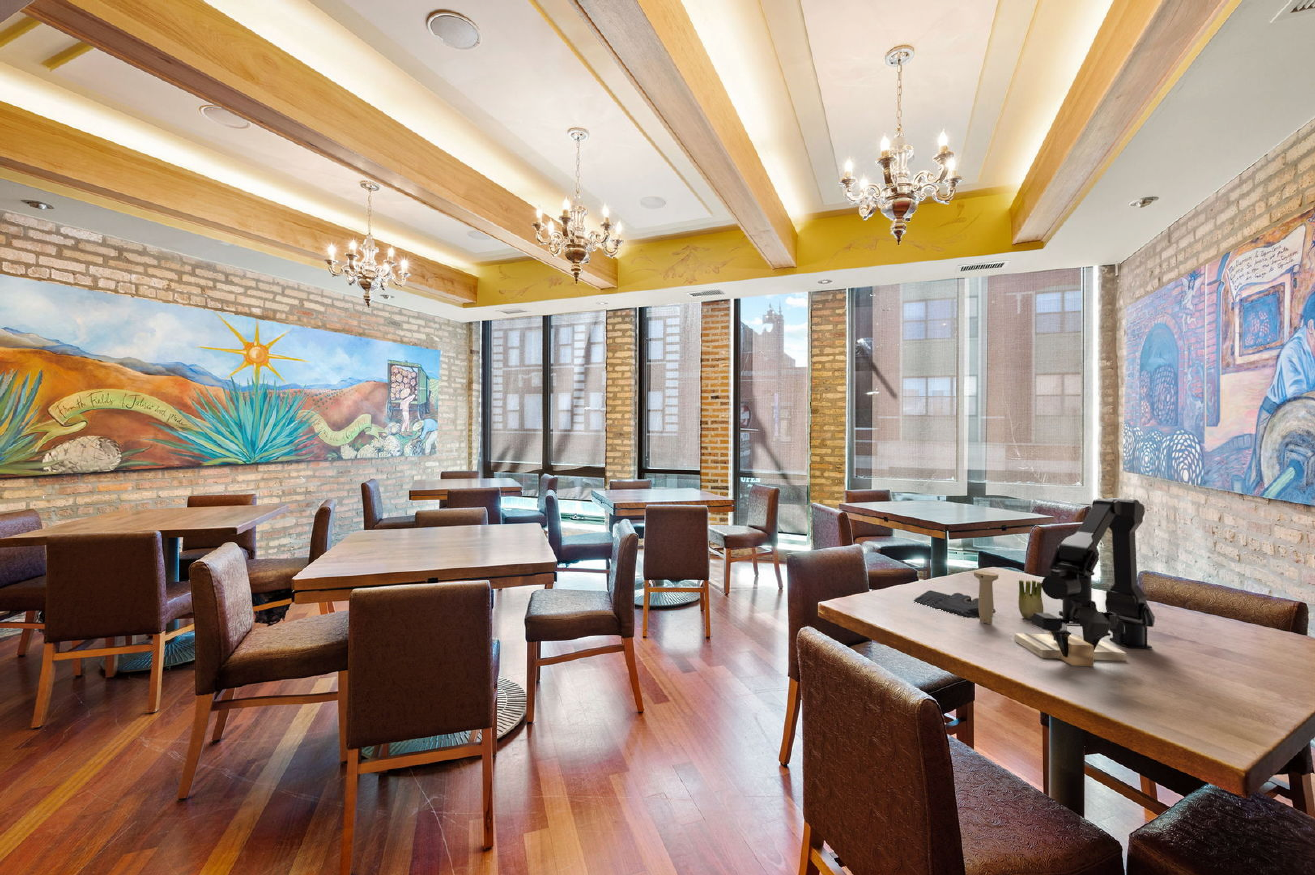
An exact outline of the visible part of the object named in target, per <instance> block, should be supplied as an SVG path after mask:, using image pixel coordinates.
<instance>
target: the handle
mask: <svg viewBox="0 0 1315 875" xmlns="http://www.w3.org/2000/svg"><path fill="white" fill-rule="evenodd" d="M973 576H974V577H975V578H977V579H978V582H979V587H978V588H979V589H978V598H979V600H978V602H979V603H978V609H979V616H980V617H978V618H979V622H980V623H982V624H984V623H986V624H987V625H991V624H993V616H994V612H995V611H994V609H995V608H994V604H995V603H994V591H993V582H994V581H997V580H998V579H999V574H998V573H995V572H992V571H991V572H990V571H986V570H974V571H973ZM993 611H994V612H993ZM990 623H991V624H990ZM986 624H985V625H986Z"/></svg>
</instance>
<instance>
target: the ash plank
mask: <svg viewBox="0 0 1315 875" xmlns="http://www.w3.org/2000/svg"><path fill="white" fill-rule="evenodd" d="M1070 637H1072V638H1074V639H1077V640H1083V634H1082V635H1081V634H1078V635H1076V634H1074V635H1073V634H1071V635H1070ZM1014 642H1016V643H1018V644H1019V645H1021V646H1023V647H1024V648H1025V649H1027V650H1029V651H1030V652H1031V653H1033V654H1035V655H1037V656H1038V657H1040V658H1042V659H1061V650H1060V648H1059V646H1058V644H1057V642H1056V641H1054V640H1053V636H1051V635H1050V634H1049V633H1048V634H1047V633H1045V634H1044V633H1042V634H1041V633H1027V632H1024V633H1017V632H1016V633H1014ZM1095 660H1098V661H1125V662H1126V661H1127V653H1126V652H1125V651H1123V650H1121V649H1119V648H1117V647H1115V646H1113V645H1111V644H1109V643H1107V642H1105V641H1103V640H1102V639H1101V640H1100V641H1099V643H1098V644H1097V646H1096V648H1095V650H1094V661H1095Z"/></svg>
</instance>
